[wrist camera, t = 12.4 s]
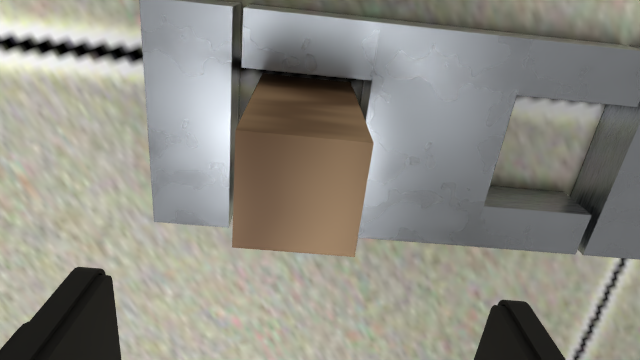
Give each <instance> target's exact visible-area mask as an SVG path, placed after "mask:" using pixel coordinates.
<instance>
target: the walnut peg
mask: <svg viewBox="0 0 640 360" xmlns="http://www.w3.org/2000/svg"><path fill="white" fill-rule="evenodd" d="M373 145H374V142H373V140H372V137H371V135H370V132H369V129H368V127H367V124H366V121H365V119H364V116H363V114H362V111H361V108H360V106H359V103H358V100H357V98H356V95H355V92H354V90H353V87H352V85H351V82H344V81H335V80H325V79H315V78H306V77H296V76H286V75H277V74H267V73H263V74H262V76H261V78H260V80H259V82H258V84H257V86H256V88H255V90H254V92H253V94H252V97H251V99H250V101H249V103H248V105H247V107H246V109H245V111H244V113H243V115H242V117H241V119H240V121H239V124H238V126H237V128H236V130H235V162H234V200H233V238H232V247H234V248H247V249H260V250H273V251H285V252H298V253H311V254H324V255H337V256H350V257H355V251H356V245H357V239H358V233H359V227H360V221H361V216H362V210H363V204H364V198H365V192H366V186H367V180H368V174H369V168H370V163H371V157H372V151H373Z"/></svg>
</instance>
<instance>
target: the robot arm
mask: <svg viewBox="0 0 640 360" xmlns="http://www.w3.org/2000/svg"><path fill="white" fill-rule="evenodd" d="M0 360H121V352H120V344H119V335H118V326H117V317H116V308H115V300H114V291H113V282H112V278H111V276H108V275H105V272H104V270H103V269H98V268H86V267H77V268H75V269H74V270H73V271H72V272H71V273H70V274H69V275H68V276H67V278H66V279H65V280H64V281H63V282H62V284H61V285H60V286H59V287H58V288H57V290H56V291H55V292H54V293H53V294H52V295H51V297H50V298H49V299H48V300H47V301H46V303H45V304H44V305H43V306H42V307H41V308H40V310H39V311H38V312H37V313H36V314H35V316H34V317H33V318H32V319H31V320H30V322H27V323H25V324H23V325H22V326H21V327H20V328H19V329H18V330H17V331H16V332H15V333H14V334H13V335H12V337H11V338H10V339H9V340H8V341H7V342H6V344H5V345H4V346H3V347H2V348H1V349H0ZM474 360H565V358H564V357H563V355H562V354H561V352H560V351H559V349H558V348H557V346H556V345H555V343H554V342H553V340H552V339H551V337H550V336H549V334H548V333H547V331H546V330H545V328H544V327H543V325H542V324H541V322H540V321H539V319H538V318H537V316H536V315H535V313H534V312H533V310H532V309H531V307H530V306H529V304H528V303H526V302H524V301H511V300H501V301H500V302H499V303H498V305H494V306H493V307H492V308H491V311H490V314H489V316H488V319H487V322H486V325H485V328H484V331H483V334H482V337H481V340H480V343H479V346H478V349H477V352H476V355H475V358H474Z"/></svg>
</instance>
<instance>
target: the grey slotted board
mask: <svg viewBox="0 0 640 360" xmlns="http://www.w3.org/2000/svg"><path fill="white" fill-rule="evenodd" d="M139 2H140V17H141V32H142V48H143V63H144V78H145V93H146V108H147V123H148V138H149V153H150V168H151V183H152V198H153V213H154V222H163V223H176V224H189V225H202V226H215V227H228V228H229V225H230V222H231V219H232V216H233V200H234V162H235V130H236V128H237V126H238V124H239V87H240V48H241V9H242V3H238V2H229V1H220V0H139ZM242 68H252V69H262V70H272V71H282V72H292V73H302V74H312V75H322V76H332V77H342V78H352V79H362V80H364V81H363V88H362V95H361V102H360V108H361V111H362V114H363V116H364V119H365V121H366V124H367V127H368V129H369V132H370V135H371V137H372V140H373V142H374V145H373V151H372V157H371V163H370V168H369V174H368V180H367V186H366V192H365V198H364V204H363V210H362V216H361V221H360V227H359V233H358V238H370V239H383V240H396V241H409V242H422V243H435V244H448V245H461V246H474V247H487V248H499V249H512V250H525V251H538V252H551V253H564V254H576V251H577V249H578V250H579V251H580V252H581V253H582V254H583V255H590V256H603V257H616V258H629V259H640V46H631V45H629V46H626V45H621V44H613V43H603V42H594V41H585V40H576V39H567V38H558V37H549V36H539V35H530V34H521V33H512V32H503V31H494V30H485V29H476V28H466V27H457V26H448V25H439V24H430V23H421V22H412V21H402V20H393V19H384V18H375V17H366V16H357V15H348V14H338V13H329V12H320V11H311V10H302V9H293V8H284V7H275V6H265V5H256V4H250V5H248V6H246V7H244V8H243V37H242ZM517 95H521V96H531V97H541V98H551V99H561V100H571V101H581V102H591V103H601V104H606V107H605V109H604V112H603V114H602V117H601V120H600V122H599V125H598V127H597V130H596V132H595V135H594V137H593V140H592V143H591V145H590V148H589V150H588V153H587V155H586V158H585V161H584V163H583V166H582V168H581V171H580V173H579V176H578V179H577V181H576V184H575V186H574V189H573V191H572V194H571V196H568V195H567V194H566V193H565V192H557V191H545V190H534V189H522V188H511V187H499V186H490V183H491V180H492V176H493V173H494V170H495V166H496V163H497V160H498V156H499V153H500V150H501V146H502V143H503V140H504V136H505V133H506V129H507V126H508V123H509V119H510V116H511V113H512V109H513V106H514V103H515V99H516V96H517Z"/></svg>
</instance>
